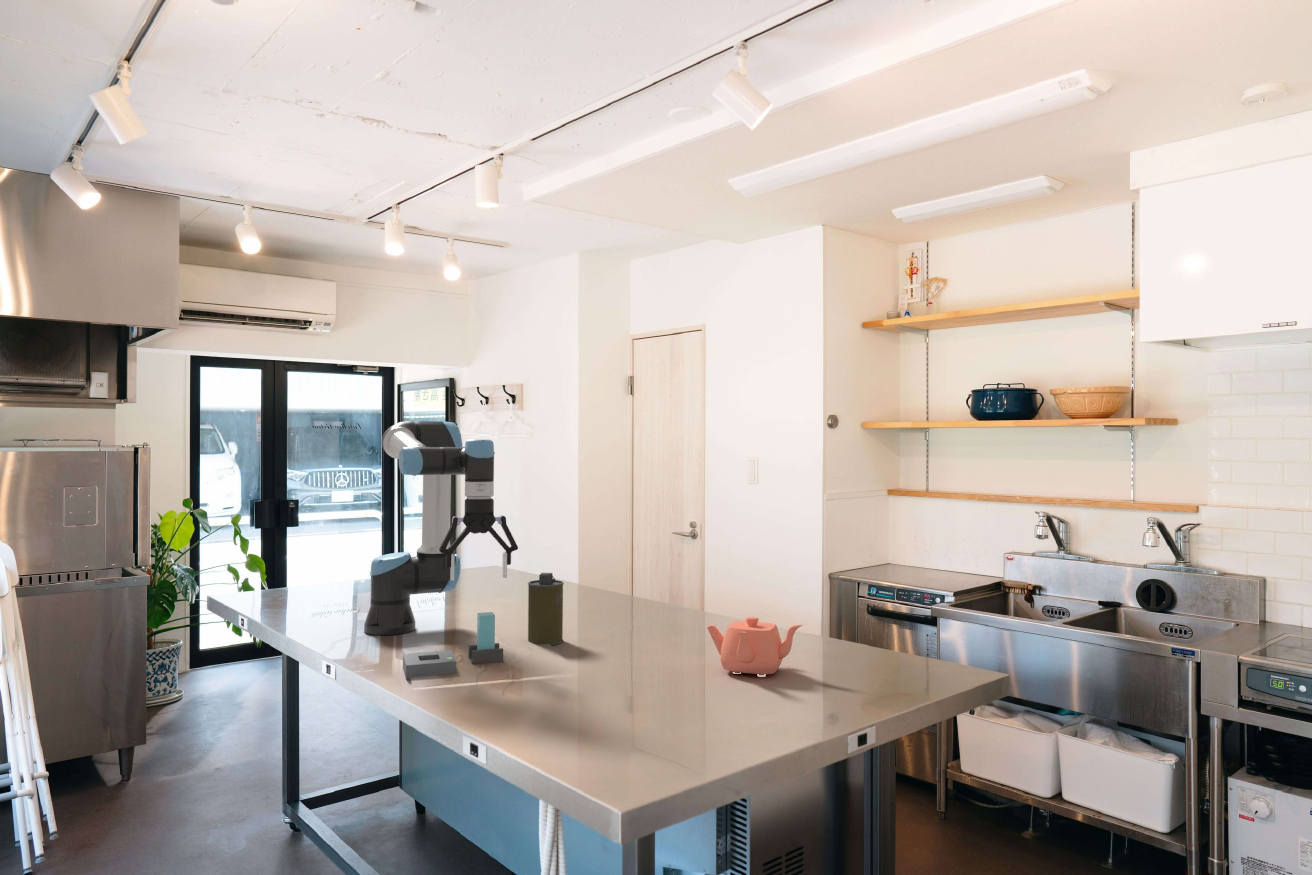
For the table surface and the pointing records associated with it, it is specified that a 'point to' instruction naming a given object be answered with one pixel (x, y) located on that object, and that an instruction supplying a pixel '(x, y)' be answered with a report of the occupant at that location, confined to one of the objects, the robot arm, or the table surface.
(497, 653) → the holster
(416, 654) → the port
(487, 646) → the plug
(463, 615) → the table surface
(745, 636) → the teapot
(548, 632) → the canister
